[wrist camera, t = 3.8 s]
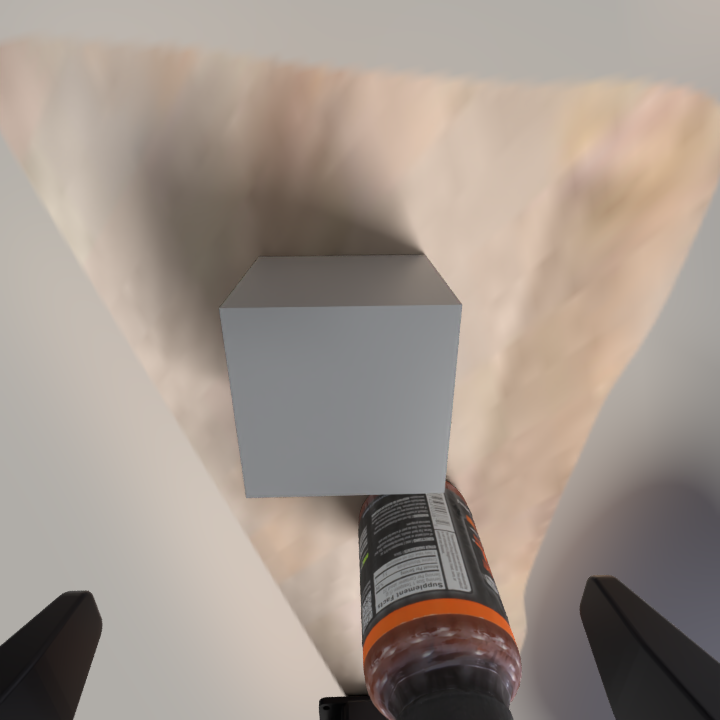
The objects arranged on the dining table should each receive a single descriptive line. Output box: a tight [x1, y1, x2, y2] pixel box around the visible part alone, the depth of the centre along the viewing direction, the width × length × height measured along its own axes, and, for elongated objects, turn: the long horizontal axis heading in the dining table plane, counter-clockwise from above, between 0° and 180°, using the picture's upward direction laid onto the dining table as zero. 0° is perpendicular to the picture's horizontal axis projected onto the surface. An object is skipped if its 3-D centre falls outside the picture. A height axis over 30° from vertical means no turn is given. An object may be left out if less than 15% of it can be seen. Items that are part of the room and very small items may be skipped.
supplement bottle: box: [358, 481, 522, 720], centre depth 20 cm, size 6×6×11 cm
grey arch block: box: [219, 255, 462, 498], centre depth 17 cm, size 7×7×6 cm
